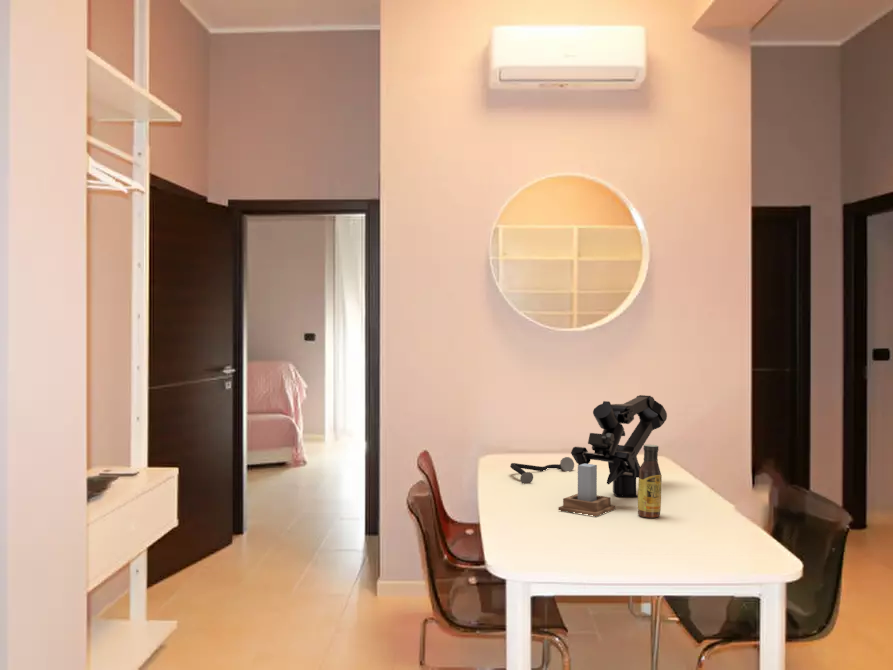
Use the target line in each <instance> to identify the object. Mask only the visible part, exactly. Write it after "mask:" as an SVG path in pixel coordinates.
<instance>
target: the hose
mask: <svg viewBox="0 0 893 670" xmlns="http://www.w3.org/2000/svg"><path fill="white" fill-rule="evenodd" d="M509 467H510V469H512V470H513V471H515V472H516V473H518V474H519V475H520V478H519V480H520V483H521V484H523V483H525V484H531V483H532V482H533V480H534V474H533V473H532V472H530V471H525V470H531V471H537V472H544V471H543V470H545V471H547V470H548V469H547V468H559V469H562V470H561V471H564V472H565V471H569V472H571V471H570V470H572V471H573V470H574V468H575V463H574V460H573V459H572V457H569V456H564V457H563V458H561V460H560V463H559V464H546V465H544V466H538V465H531V464H523V463H516V462H511V463H510V466H509ZM524 469H525V470H524ZM546 469H547V470H546ZM559 469H558V470H559Z"/></svg>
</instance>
